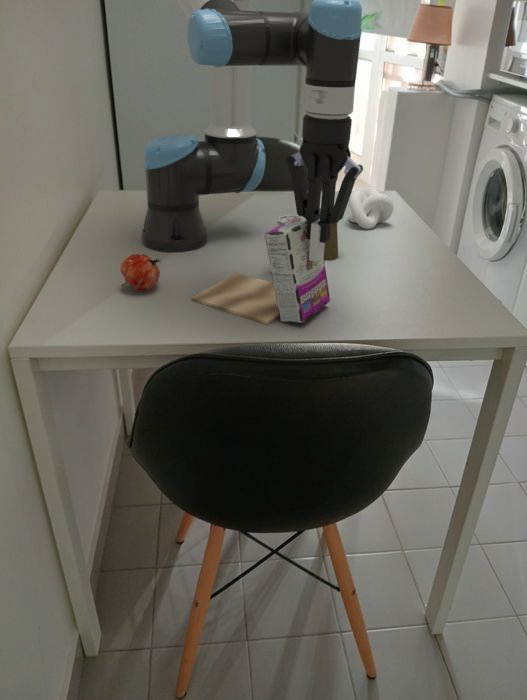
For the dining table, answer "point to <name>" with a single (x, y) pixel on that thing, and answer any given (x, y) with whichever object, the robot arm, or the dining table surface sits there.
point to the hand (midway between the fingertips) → (316, 258)
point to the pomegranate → (140, 271)
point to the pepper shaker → (331, 243)
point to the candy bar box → (296, 272)
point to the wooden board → (242, 298)
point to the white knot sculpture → (369, 207)
